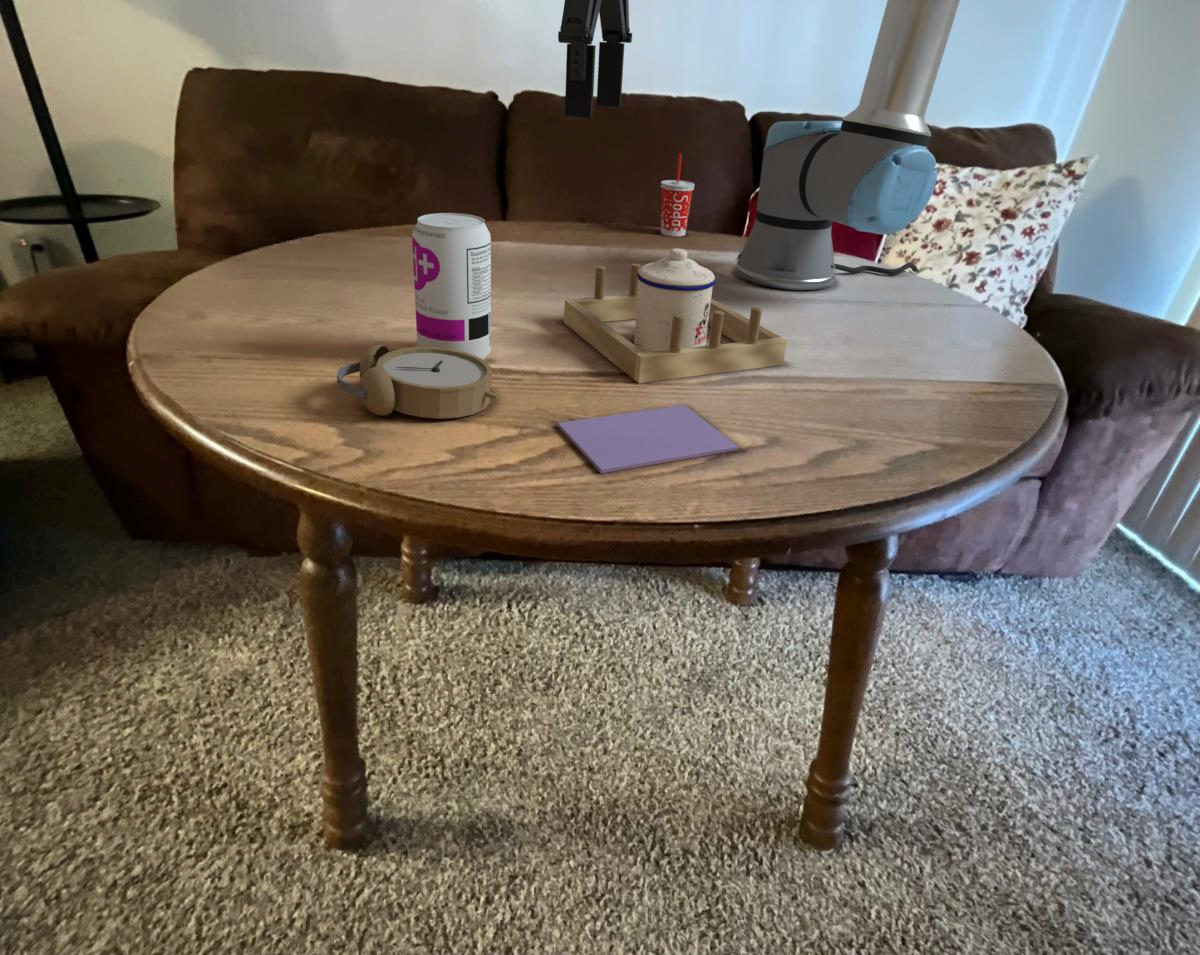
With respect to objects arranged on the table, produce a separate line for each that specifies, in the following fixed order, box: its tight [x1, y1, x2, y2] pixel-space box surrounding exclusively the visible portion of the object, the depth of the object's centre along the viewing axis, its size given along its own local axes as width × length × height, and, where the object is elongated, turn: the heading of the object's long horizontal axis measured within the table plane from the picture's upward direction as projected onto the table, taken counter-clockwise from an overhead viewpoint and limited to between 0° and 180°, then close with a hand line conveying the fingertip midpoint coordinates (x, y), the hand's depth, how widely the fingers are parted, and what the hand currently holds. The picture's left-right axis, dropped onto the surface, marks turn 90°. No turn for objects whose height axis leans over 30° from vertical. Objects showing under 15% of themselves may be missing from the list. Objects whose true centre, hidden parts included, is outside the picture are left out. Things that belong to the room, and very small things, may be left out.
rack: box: [563, 263, 788, 384], centre depth 102 cm, size 19×21×7 cm
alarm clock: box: [336, 344, 498, 420], centre depth 83 cm, size 11×5×15 cm
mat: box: [557, 404, 739, 474], centre depth 79 cm, size 14×10×1 cm
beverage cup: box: [660, 153, 695, 237], centre depth 154 cm, size 6×6×14 cm
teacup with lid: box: [633, 247, 716, 353], centre depth 101 cm, size 12×9×12 cm
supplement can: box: [411, 212, 492, 361], centre depth 92 cm, size 8×8×15 cm
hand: (594, 111), depth 92 cm, fingers open, 13 cm apart
